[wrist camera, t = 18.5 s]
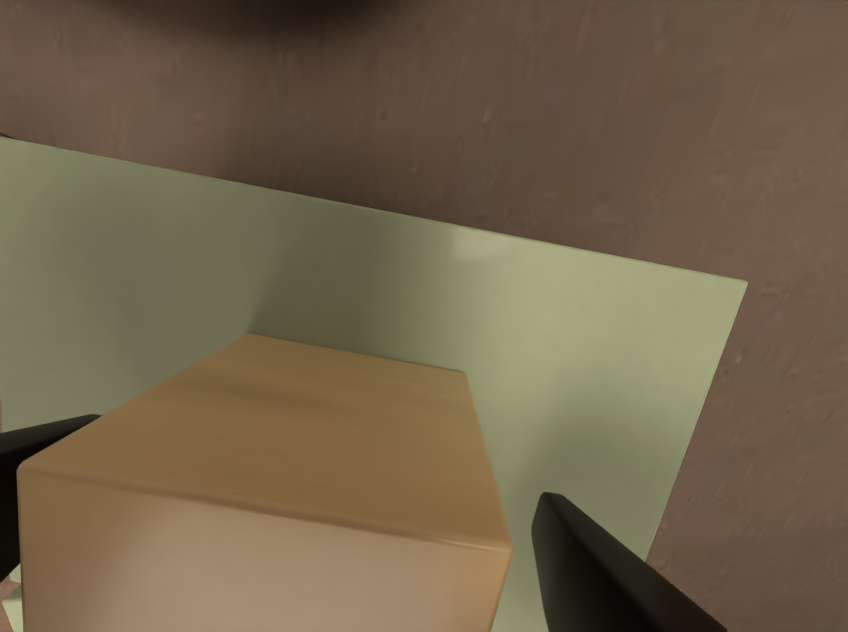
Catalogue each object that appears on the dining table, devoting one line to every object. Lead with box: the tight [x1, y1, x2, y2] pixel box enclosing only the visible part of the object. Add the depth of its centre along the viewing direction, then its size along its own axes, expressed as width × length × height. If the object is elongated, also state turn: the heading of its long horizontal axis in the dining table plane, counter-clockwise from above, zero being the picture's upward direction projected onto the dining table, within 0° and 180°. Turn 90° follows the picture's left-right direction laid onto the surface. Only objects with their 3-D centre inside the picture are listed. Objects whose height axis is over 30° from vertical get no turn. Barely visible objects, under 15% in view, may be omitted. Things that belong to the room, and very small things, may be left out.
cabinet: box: [0, 137, 748, 632], centre depth 13 cm, size 11×16×9 cm
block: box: [16, 333, 514, 632], centre depth 7 cm, size 5×5×5 cm
